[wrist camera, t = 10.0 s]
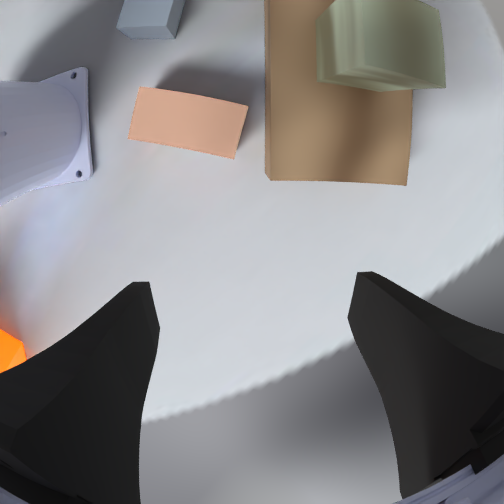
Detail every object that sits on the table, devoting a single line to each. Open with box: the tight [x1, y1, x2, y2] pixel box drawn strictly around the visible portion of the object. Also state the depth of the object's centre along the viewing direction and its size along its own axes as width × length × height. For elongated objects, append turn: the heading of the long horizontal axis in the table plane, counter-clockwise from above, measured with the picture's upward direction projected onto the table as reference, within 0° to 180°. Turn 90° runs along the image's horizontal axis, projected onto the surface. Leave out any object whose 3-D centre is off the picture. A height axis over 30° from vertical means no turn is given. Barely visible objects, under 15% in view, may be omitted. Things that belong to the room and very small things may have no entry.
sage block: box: [315, 0, 446, 92], centre depth 10 cm, size 4×4×6 cm
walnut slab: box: [264, 0, 413, 186], centre depth 14 cm, size 9×15×2 cm, turn 0°
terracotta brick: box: [128, 87, 249, 159], centre depth 15 cm, size 6×3×3 cm, turn 74°
